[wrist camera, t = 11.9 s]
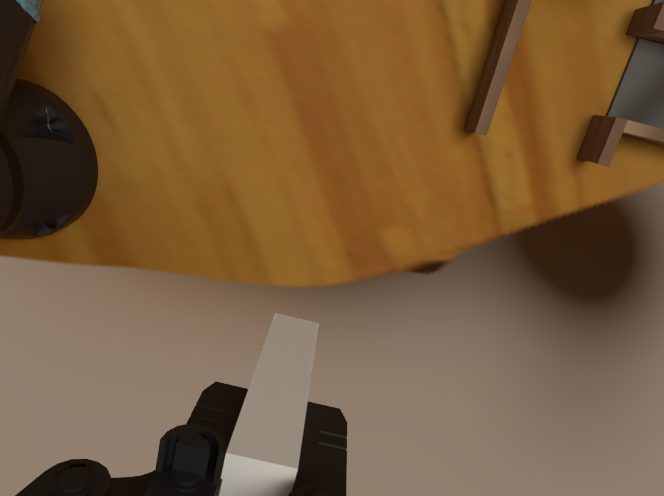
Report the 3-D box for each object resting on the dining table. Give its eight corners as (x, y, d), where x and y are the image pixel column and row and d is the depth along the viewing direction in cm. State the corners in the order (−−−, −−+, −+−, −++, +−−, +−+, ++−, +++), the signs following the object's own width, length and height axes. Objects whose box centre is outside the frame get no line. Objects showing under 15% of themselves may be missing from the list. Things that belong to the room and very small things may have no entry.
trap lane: (464, 129, 45) (474, 132, 41) (562, -177, 38) (586, -208, 34) (667, 180, 46) (696, 188, 42) (802, -111, 38) (851, -133, 35)
